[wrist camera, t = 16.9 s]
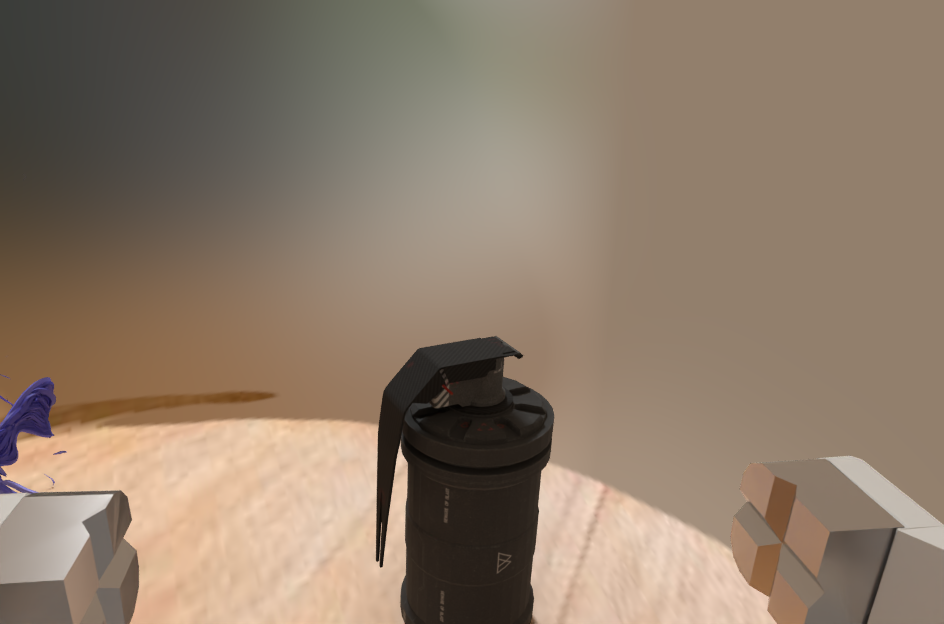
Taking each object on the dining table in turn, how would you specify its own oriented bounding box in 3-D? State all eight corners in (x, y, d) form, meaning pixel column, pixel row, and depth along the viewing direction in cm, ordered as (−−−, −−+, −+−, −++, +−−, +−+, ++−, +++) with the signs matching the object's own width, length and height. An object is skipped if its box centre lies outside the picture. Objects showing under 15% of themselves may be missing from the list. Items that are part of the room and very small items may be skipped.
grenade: (560, 641, 45) (593, 366, 38) (407, 707, 40) (413, 404, 33) (489, 555, 52) (506, 312, 45) (353, 602, 47) (349, 336, 40)
